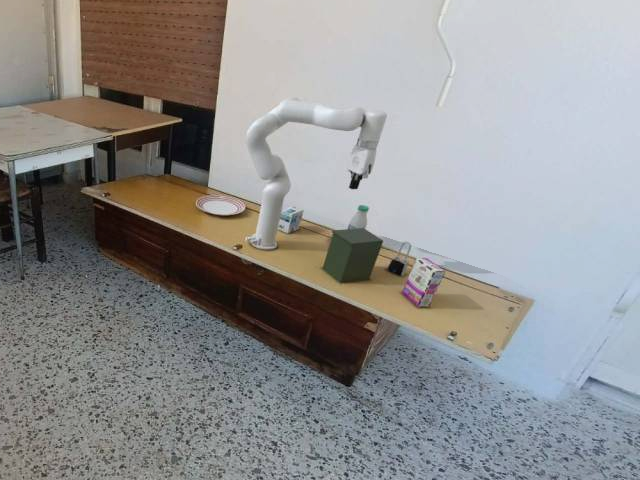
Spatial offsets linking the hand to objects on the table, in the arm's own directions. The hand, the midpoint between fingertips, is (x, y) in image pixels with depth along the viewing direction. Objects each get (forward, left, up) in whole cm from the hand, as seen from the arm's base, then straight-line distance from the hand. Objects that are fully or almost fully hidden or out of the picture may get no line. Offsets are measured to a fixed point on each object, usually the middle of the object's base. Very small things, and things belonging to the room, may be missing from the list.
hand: (353, 188), depth 190 cm
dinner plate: (-25, +67, -35) cm, 80 cm away
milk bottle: (+22, +14, -35) cm, 44 cm away
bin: (0, -11, -35) cm, 37 cm away
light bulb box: (0, +36, -35) cm, 50 cm away
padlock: (+24, -14, -35) cm, 45 cm away
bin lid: (0, -11, -17) cm, 20 cm away
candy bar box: (+15, -35, -35) cm, 52 cm away
